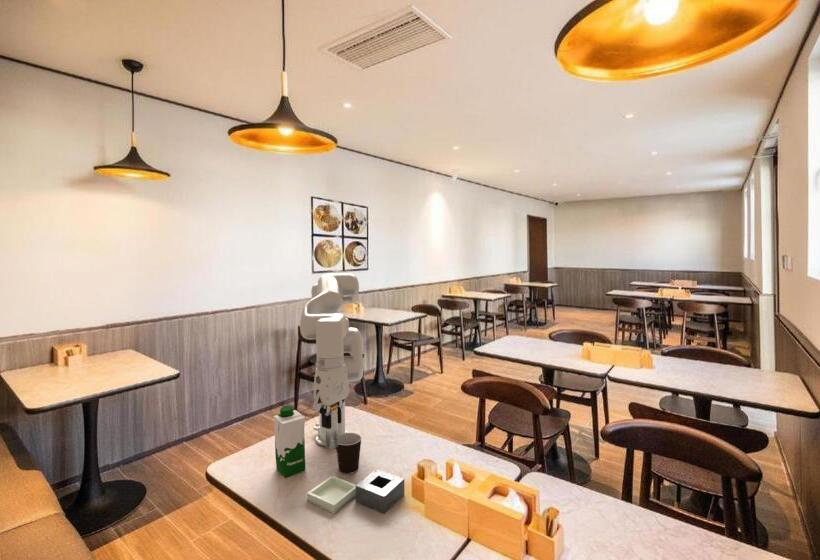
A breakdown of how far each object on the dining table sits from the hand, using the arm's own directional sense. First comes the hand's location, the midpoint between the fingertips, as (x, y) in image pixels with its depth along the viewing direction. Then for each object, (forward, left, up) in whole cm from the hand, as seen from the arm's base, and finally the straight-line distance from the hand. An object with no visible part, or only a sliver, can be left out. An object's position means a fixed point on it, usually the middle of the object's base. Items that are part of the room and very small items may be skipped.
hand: (331, 424), depth 113 cm
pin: (0, 0, -6) cm, 6 cm away
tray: (0, 0, -22) cm, 22 cm away
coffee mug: (-7, +16, -22) cm, 28 cm away
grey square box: (+12, +7, -22) cm, 26 cm away
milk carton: (-22, +4, -22) cm, 32 cm away
